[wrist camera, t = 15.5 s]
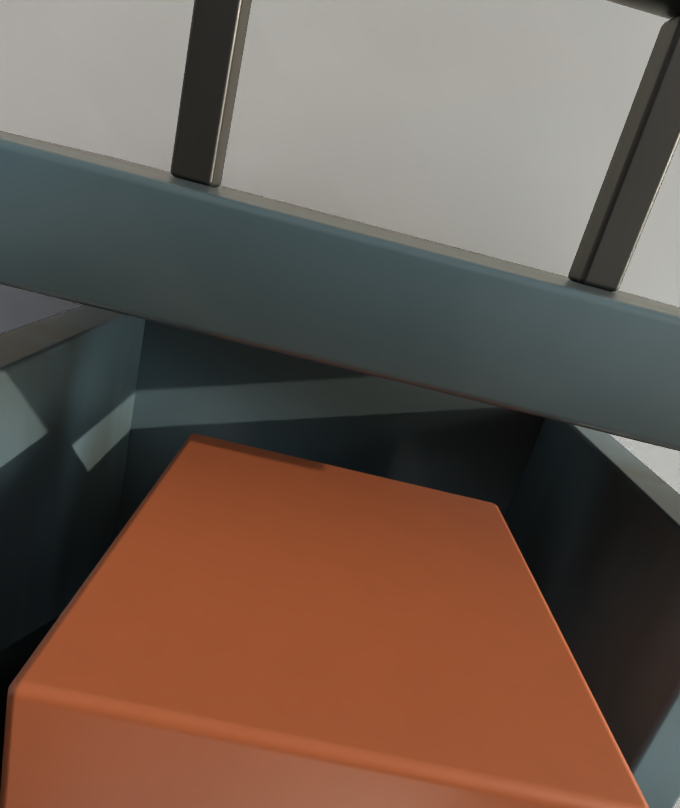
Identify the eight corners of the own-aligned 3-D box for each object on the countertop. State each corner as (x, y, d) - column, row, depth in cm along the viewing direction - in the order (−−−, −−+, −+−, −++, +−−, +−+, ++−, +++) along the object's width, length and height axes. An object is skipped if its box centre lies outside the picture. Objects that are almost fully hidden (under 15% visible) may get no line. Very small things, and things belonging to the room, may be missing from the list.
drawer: (142, -142, 10) (-357, -991, 3) (748, 39, 10) (1517, -294, 4) (54, 671, 16) (-180, 1036, 9) (449, 751, 16) (522, 1147, 9)
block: (498, 501, 8) (661, 819, 4) (410, 730, 9) (459, 1147, 5) (191, 429, 8) (3, 686, 4) (147, 676, 9) (-25, 1071, 5)
